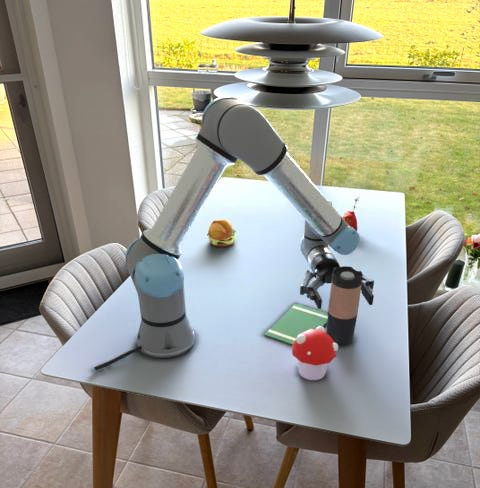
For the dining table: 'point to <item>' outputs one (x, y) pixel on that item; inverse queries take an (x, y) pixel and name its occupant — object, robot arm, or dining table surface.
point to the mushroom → (314, 353)
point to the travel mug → (343, 304)
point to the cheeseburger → (221, 233)
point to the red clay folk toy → (351, 218)
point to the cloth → (297, 323)
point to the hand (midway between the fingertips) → (346, 302)
